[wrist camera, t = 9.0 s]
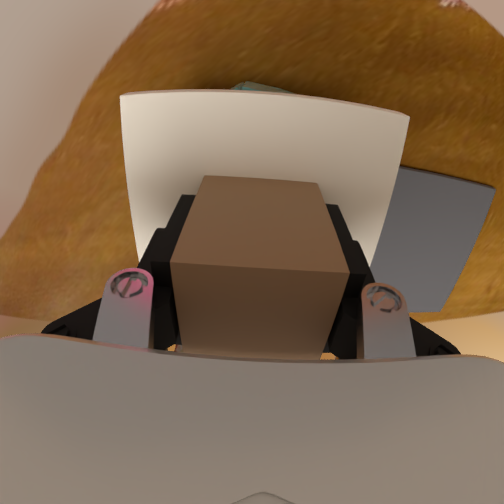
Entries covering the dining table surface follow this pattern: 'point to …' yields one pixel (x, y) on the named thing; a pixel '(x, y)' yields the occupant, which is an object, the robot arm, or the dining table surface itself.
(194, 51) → the dining table surface
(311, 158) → the lid
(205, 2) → the dining table surface
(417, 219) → the mat
